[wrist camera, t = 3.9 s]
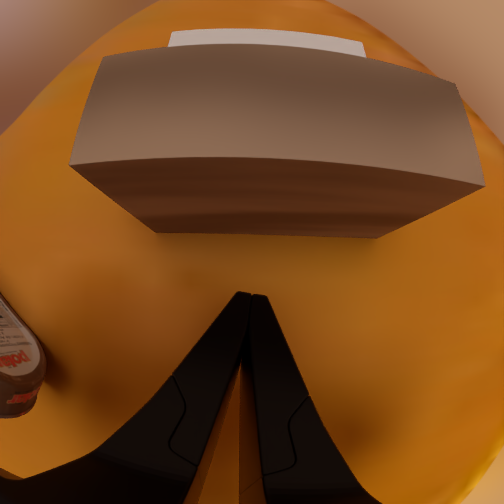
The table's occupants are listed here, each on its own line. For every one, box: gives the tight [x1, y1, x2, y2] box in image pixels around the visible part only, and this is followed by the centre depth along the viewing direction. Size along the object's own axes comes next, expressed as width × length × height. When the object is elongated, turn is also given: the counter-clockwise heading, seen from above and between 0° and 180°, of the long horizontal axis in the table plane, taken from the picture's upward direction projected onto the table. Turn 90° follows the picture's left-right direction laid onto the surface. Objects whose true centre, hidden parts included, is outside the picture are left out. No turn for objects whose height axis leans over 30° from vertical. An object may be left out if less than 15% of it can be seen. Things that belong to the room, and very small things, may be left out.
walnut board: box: [69, 44, 485, 238], centre depth 12 cm, size 4×12×9 cm, turn 89°
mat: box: [168, 29, 366, 58], centre depth 17 cm, size 10×14×1 cm
